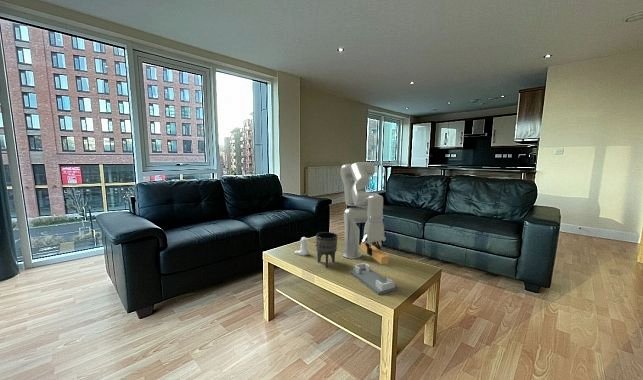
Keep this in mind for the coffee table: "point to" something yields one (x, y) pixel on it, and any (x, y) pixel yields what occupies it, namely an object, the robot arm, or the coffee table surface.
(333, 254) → the planter
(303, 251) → the sitting furry creature
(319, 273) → the coffee table surface
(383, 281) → the cap board
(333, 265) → the coffee table surface
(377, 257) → the slat
